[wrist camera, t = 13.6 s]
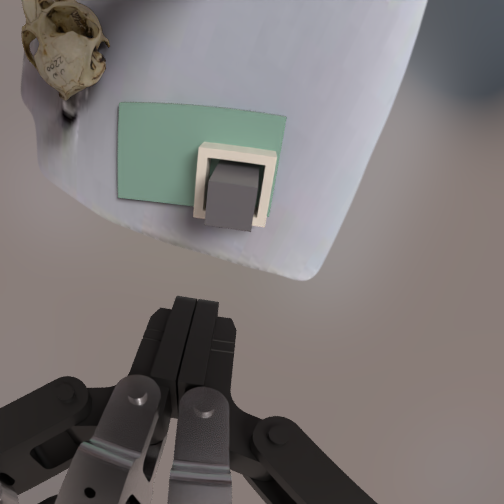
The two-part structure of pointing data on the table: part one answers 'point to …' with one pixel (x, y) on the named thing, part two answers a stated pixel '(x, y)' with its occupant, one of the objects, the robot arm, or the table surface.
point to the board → (184, 146)
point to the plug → (232, 195)
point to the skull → (64, 44)
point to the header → (241, 155)
